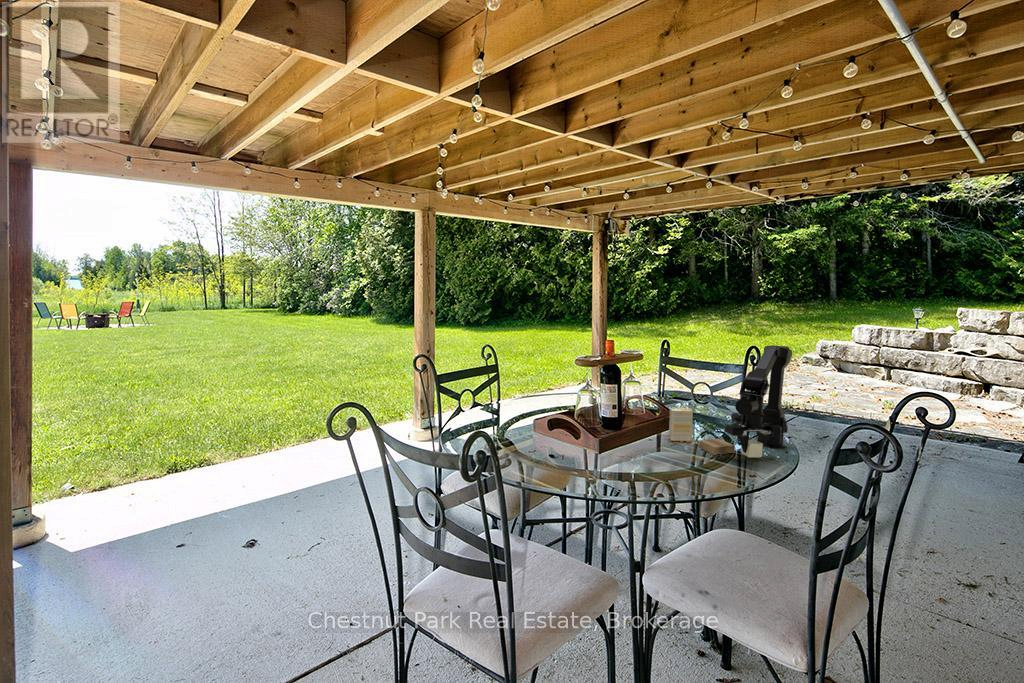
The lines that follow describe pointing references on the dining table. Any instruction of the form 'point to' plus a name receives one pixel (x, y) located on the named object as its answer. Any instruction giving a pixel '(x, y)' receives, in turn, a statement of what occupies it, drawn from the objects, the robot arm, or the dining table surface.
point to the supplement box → (680, 424)
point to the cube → (753, 449)
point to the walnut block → (716, 446)
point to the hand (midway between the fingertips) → (751, 452)
